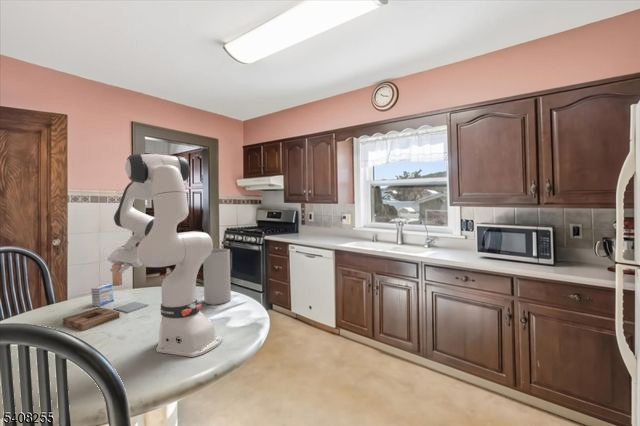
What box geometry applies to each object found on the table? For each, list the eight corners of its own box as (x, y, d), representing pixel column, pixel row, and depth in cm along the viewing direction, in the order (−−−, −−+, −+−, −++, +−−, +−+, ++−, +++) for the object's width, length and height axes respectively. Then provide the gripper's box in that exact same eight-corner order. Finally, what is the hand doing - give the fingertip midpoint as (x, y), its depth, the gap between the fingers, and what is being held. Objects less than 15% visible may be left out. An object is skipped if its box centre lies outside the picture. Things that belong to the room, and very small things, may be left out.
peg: (124, 284, 141) (123, 264, 141) (115, 286, 138) (115, 266, 137) (118, 283, 143) (118, 263, 142) (110, 285, 140) (110, 265, 139)
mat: (148, 305, 149) (148, 304, 149) (127, 313, 140) (127, 311, 140) (134, 302, 153) (134, 301, 153) (113, 309, 144) (113, 308, 144)
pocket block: (119, 317, 134) (119, 312, 134) (83, 330, 122) (83, 324, 121) (99, 312, 140) (99, 307, 140) (63, 324, 128) (62, 318, 127)
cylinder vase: (235, 300, 156) (234, 250, 154) (212, 307, 146) (211, 254, 145) (222, 295, 164) (221, 247, 163) (199, 301, 155) (198, 251, 153)
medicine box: (99, 306, 148) (99, 288, 147) (92, 306, 149) (91, 288, 148) (114, 301, 155) (113, 283, 155) (106, 300, 156) (105, 283, 156)
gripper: (116, 241, 150) (95, 266, 142) (145, 244, 141) (125, 270, 133) (126, 249, 154) (106, 273, 146) (154, 252, 146) (135, 278, 137)
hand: (115, 272), depth 139 cm, fingers closed on peg, 4 cm apart
